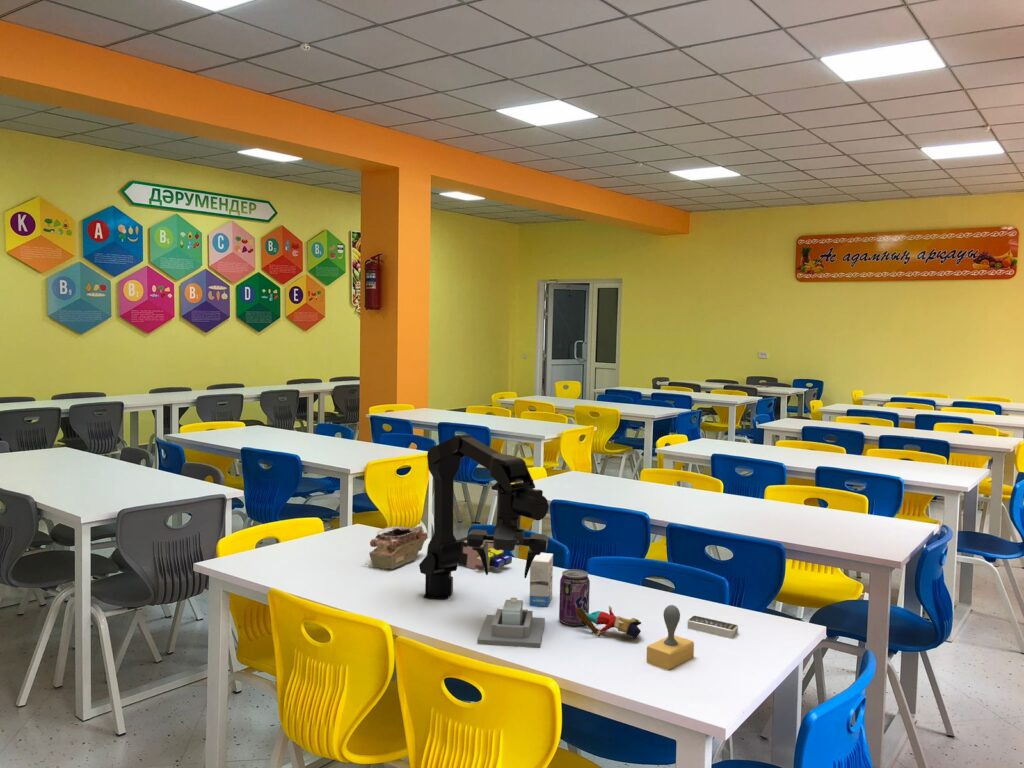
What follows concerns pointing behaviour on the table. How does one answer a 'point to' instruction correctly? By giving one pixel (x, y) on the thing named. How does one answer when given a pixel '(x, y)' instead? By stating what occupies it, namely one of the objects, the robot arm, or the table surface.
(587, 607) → the beverage can
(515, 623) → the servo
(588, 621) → the toy
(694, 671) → the table surface
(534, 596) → the ink box
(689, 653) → the rubber stamp
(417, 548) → the decorative box
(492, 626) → the grey socket base
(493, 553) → the toy
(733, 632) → the multiport hub
